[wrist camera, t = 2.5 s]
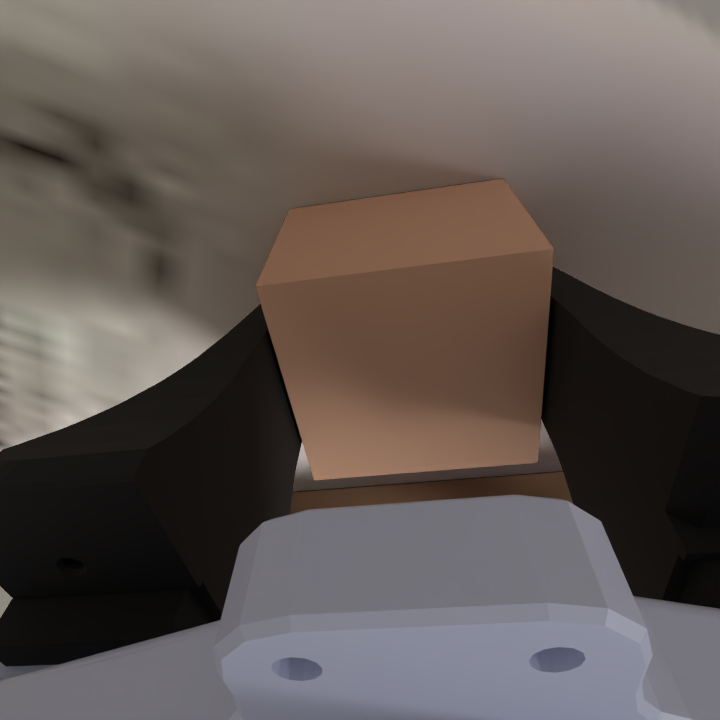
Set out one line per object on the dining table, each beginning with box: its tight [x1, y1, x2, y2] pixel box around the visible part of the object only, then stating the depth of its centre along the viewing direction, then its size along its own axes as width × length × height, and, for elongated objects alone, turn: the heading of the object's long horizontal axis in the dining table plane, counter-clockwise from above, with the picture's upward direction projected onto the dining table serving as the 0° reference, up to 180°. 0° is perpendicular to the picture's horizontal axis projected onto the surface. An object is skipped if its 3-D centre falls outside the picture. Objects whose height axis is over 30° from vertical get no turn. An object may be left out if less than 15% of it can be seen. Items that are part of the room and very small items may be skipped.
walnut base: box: [290, 472, 573, 514], centre depth 21 cm, size 15×15×2 cm
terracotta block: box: [255, 178, 554, 480], centre depth 11 cm, size 5×5×4 cm
